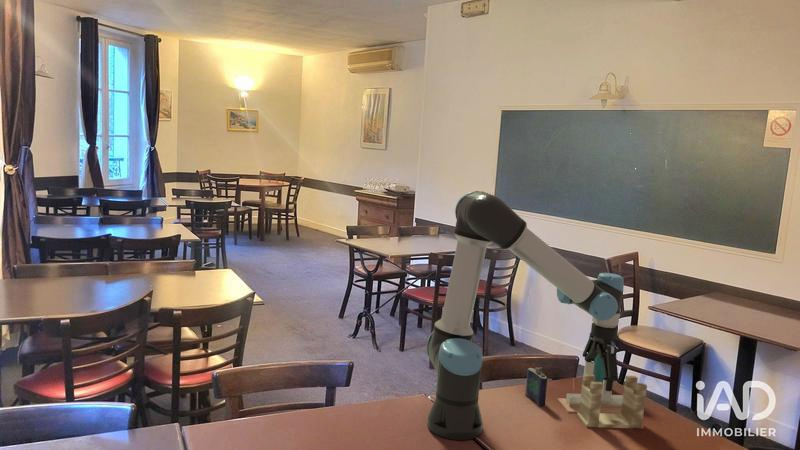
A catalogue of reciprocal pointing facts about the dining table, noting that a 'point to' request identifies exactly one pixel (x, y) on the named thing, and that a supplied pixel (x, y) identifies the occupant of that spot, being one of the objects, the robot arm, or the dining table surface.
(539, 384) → the flask
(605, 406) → the rail
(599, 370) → the beverage bottle
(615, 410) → the mat
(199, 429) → the dining table surface
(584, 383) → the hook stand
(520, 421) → the dining table surface
